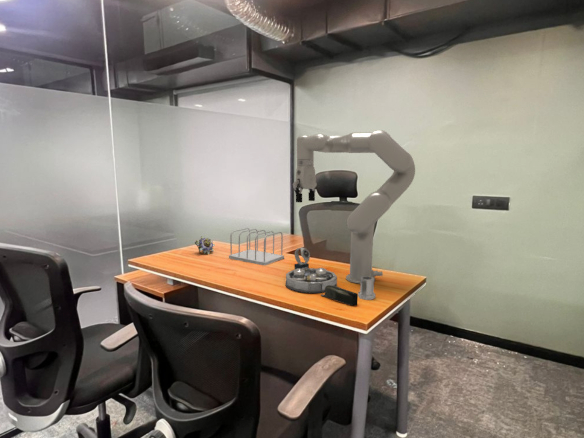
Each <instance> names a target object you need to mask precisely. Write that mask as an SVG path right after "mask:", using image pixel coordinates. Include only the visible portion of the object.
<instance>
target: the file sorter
mask: <svg viewBox="0 0 584 438" xmlns="http://www.w3.org/2000/svg"><path fill="white" fill-rule="evenodd" d="M234 232H239V233H238V252H236V253H233V250H232V249H233V244H232V243H233V242H232V241H233V240H232V238H233V237H232V236H233V234H234ZM245 232H248V233H247V235H246V250H242V251H241V235H242V234H243V233H245ZM254 233H256V234H255V236H254V237H255V238H254V249H251V234H254ZM276 234H281V236H280V237H281V242H280V244H281V245H280V251H281V252H280V254H278V253H277V254H276V253H275V235H276ZM260 235H264V238H263V251H262V250H259V236H260ZM283 235H284V234H283V232H282V231H277V232H274V231H273V230H270V231H269V230H268V231H266V230H265V229H260V230H258V229H256V228H252V229H250V228H248V227H245V228H241V229H236V230H232V231H231V233H230V238H229V239H230V254H229V255H228V259H230V260H235V261H241V262H245V263H250V264H255V265H260V266H268V265H270V264H273V263H276V262H277V261H281V260H282V259H283V260H284V259H285V255H283V245H284V243H283V240H284V239H283V238H284V237H283ZM269 236H272V253H271V252H267V237H269Z"/></svg>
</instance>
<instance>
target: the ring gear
mask: <svg viewBox="0 0 584 438" xmlns="http://www.w3.org/2000/svg"><path fill="white" fill-rule="evenodd" d="M302 269H304V270H305V276H308V275H310V274H316V269H317V268H315V267H313V268H312V267H311V268H310V267H309V268H302ZM326 270H327V269H326ZM326 275H327V276H328V279H331V280H327V281H323V282H303V281H297V280H295V279H292V276H294V269H292V270H290V271H288V272H287V273H286V274H285V283H286V282H287V285H288V286H291V287H293V288H295V289H301V290H307V291H313V290H325V287H326V286H328V285H331V286H335V285H336V284H337V285H338V276H337V275H336V274H335V272H334V271H330V270H327V272H326Z"/></svg>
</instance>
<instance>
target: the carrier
mask: <svg viewBox="0 0 584 438" xmlns="http://www.w3.org/2000/svg"><path fill="white" fill-rule="evenodd" d="M293 270H294V276H292V279H295V280H297V281H303V282H323V281H327V280H331V279H328V276H327V275H326V272H327V269H326V268H325V267H318V268H316V274H310V275H308V276H305V270H304V269H301V268H297V269H295V268H294V269H293ZM337 285H338V283H337V284H336V285H335V286H337ZM337 287H338V286H337ZM285 288H286V289H288V290H290V291H293V292H295V293H300V294H309V295H312V294H314V295H315V294H316V295H317V294H325V290H313V291H307V290H301V289H295V288H293V287H291V286H288V285H287V282H286V281H285Z"/></svg>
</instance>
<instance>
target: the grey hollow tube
mask: <svg viewBox="0 0 584 438" xmlns="http://www.w3.org/2000/svg"><path fill="white" fill-rule="evenodd" d="M374 287H375V281H374V278H373V277H370V276H363V277H361V283H360V287H359V288H360V289H359V291H358V293H357V294H358V298H359V299H361V300H365V301H370V300H371V301H373V300H374V299H376V293H375V292H374V290H375V289H374Z"/></svg>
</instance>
